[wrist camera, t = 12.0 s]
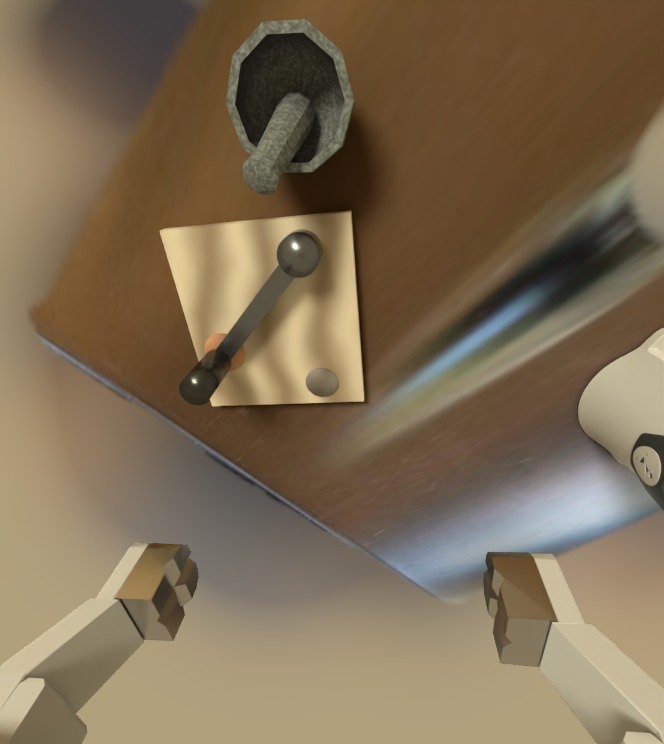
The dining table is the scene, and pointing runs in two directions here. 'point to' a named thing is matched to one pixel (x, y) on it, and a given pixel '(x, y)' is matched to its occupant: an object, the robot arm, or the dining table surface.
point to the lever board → (273, 309)
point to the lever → (253, 314)
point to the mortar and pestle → (288, 101)
